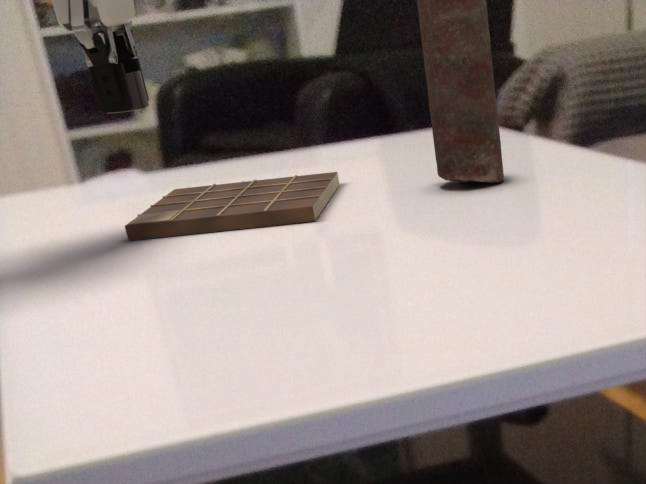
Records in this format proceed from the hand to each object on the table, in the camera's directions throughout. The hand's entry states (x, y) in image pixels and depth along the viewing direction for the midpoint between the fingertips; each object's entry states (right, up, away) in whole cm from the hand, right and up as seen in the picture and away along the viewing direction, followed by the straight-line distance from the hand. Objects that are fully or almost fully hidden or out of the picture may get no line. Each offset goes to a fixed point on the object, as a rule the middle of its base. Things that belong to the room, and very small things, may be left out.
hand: (125, 105), depth 102 cm
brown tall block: (+35, -2, +13) cm, 37 cm away
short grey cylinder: (0, 0, 0) cm, 0 cm away
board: (+9, -5, +13) cm, 16 cm away
